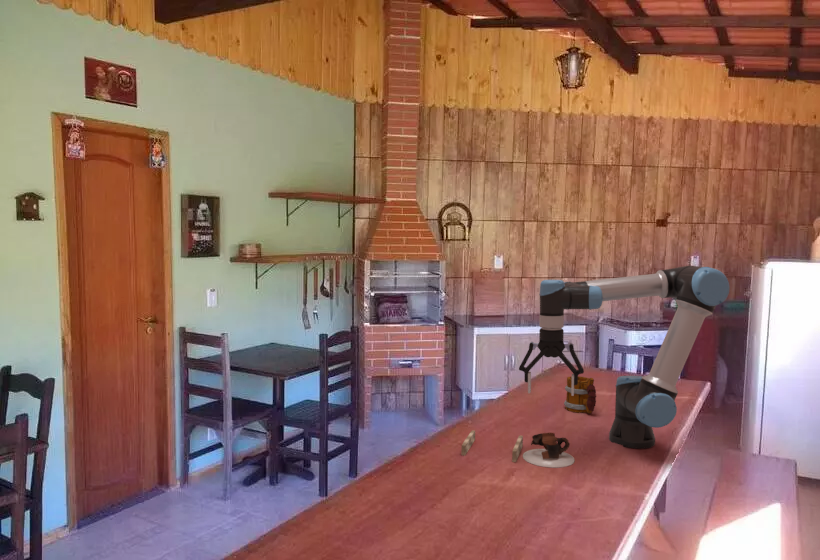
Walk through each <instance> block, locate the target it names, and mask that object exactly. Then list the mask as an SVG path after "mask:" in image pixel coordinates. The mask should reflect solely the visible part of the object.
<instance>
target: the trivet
mask: <svg viewBox="0 0 820 560" xmlns="http://www.w3.org/2000/svg"><path fill="white" fill-rule="evenodd" d="M544 451H547V450H546V449H545V448H534V449H529V450H527V451H525V452H523V454H522V458H523V460H524V461H525V462H527V463H529V464H531V465H534V466H537V467H543V468H553V469H558V468H566V467H570V466H571V465H574V463H575V457H573V456H572V455H571V454H570V453H567V452H566V451H564V452H562V454H561V455H560V454H559V458H548V459H543V457H542V452H544Z"/></svg>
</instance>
